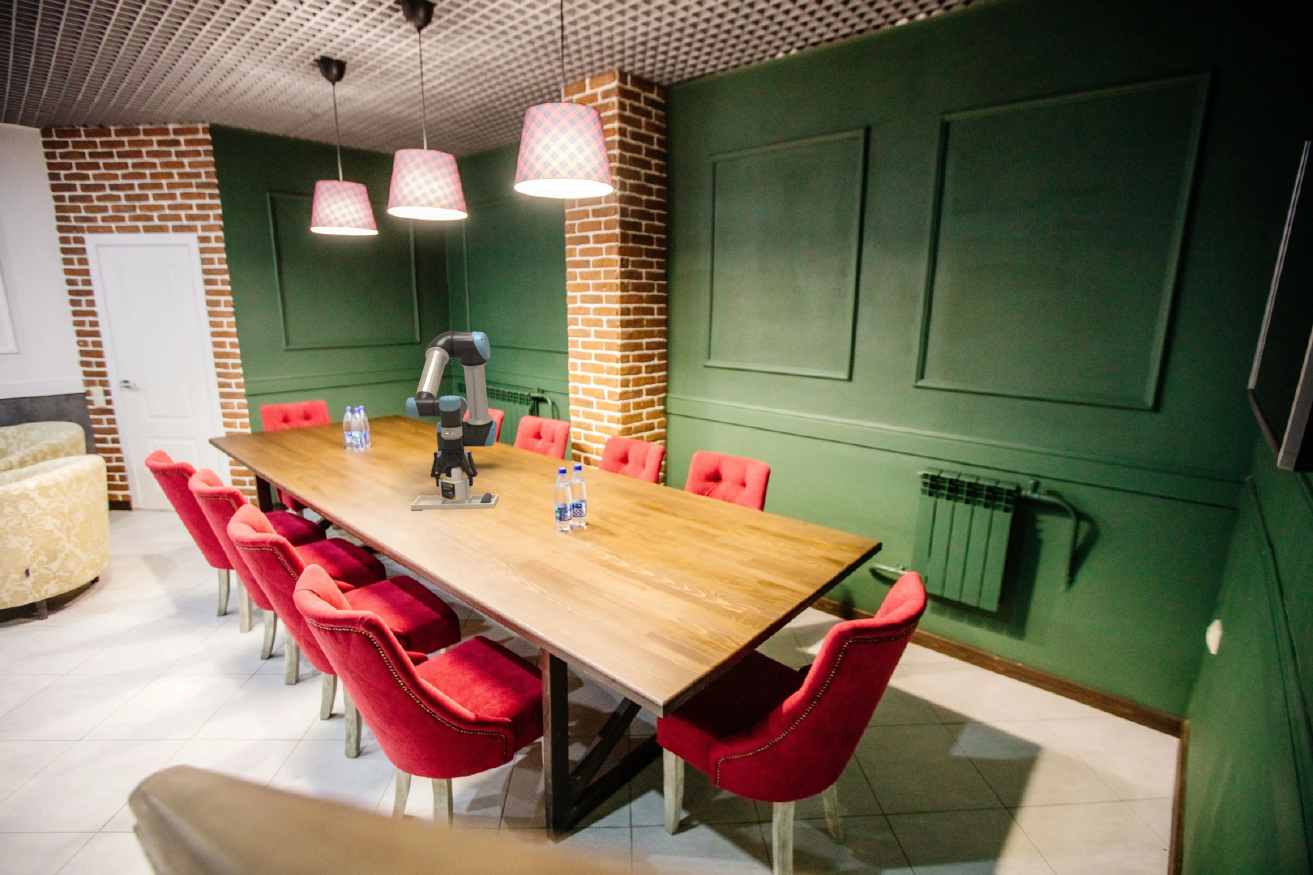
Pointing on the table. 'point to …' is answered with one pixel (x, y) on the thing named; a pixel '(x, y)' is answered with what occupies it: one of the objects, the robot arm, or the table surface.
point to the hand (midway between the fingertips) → (455, 494)
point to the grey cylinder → (486, 498)
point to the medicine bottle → (454, 484)
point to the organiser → (452, 502)
